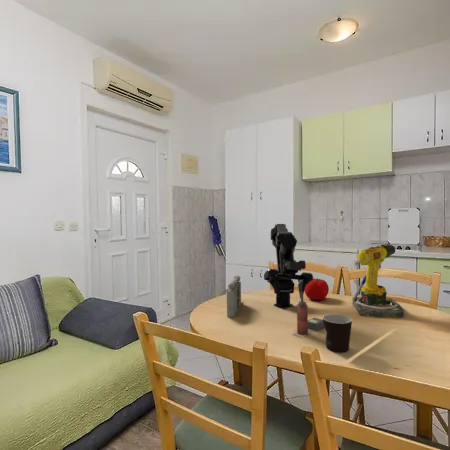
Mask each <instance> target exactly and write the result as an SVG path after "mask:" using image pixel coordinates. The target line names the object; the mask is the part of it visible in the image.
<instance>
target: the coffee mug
mask: <svg viewBox="0 0 450 450" xmlns="http://www.w3.org/2000/svg"><path fill="white" fill-rule="evenodd" d="M322 320H323V324H324V327H323V330H324V339H325V345H326V349H327V351H330V352H333V353H337V354H343V353H348V352H349V349H350V343H351V341H350V340H351V335H352V334H351V333H352V325H353V319H352V318H351V317H350V316H347V315H344V314H338V313H329V314H324V315H323V316H322Z"/></svg>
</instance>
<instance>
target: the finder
mask: <svg viewBox="0 0 450 450" xmlns="http://www.w3.org/2000/svg"><path fill="white" fill-rule="evenodd" d="M308 329H310V330H314V332H317V331H319V330H321V329H324V324H323V318H322V319H321V318H318V317H312V318H310V319H308Z"/></svg>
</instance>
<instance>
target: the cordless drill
mask: <svg viewBox="0 0 450 450" xmlns="http://www.w3.org/2000/svg"><path fill="white" fill-rule="evenodd" d="M395 253H396V247H395V246H394V245H392V244H387V245H385V244H381V245H376V246H371V247H369V248H367V249H361V250H360V251H359V252H358V253H357V255H356V258H357V261H358V262H359V264H360V265H361V266H367V269H366V274H365V275H364V276H363V279H362V281H361V283H360V285H359V286H358V288H357V289H356V292H355V293H354V295H353V297H352V300H351V301H352V307H354V308H355V310H356V312H358V314H359V315H362V316H363V315H364V316H365V315H369V317H375V318H385V317H387V316H390V317H392V316H393V317H397V318H402V317H403V318H404V315H405V310H404V308H403V306H402V305H400V304H399V303H398V302H397V301H396V300H395V299H393V298H389V297H387V289H386V287H385V286H383V285H380V284H378V278H379V277H378V273H379V270H380V269H381V268H382V267H381V265H382V263H383V262H385V259H386V258H389V257H390V256H392V255H394V254H395ZM359 294H360V295H361V296H359ZM379 305H382V306H379ZM392 305H393V306H392Z"/></svg>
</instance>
